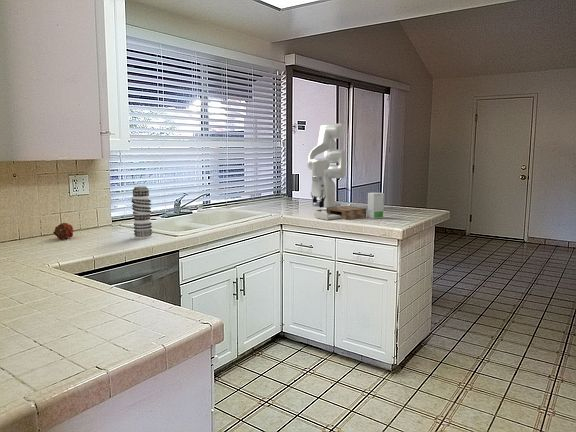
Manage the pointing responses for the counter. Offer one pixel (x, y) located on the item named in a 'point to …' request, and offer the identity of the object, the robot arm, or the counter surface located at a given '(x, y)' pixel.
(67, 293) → the counter surface
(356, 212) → the housing
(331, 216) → the tray
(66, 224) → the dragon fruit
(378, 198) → the skincare box
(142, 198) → the decorative candle
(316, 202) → the disc
